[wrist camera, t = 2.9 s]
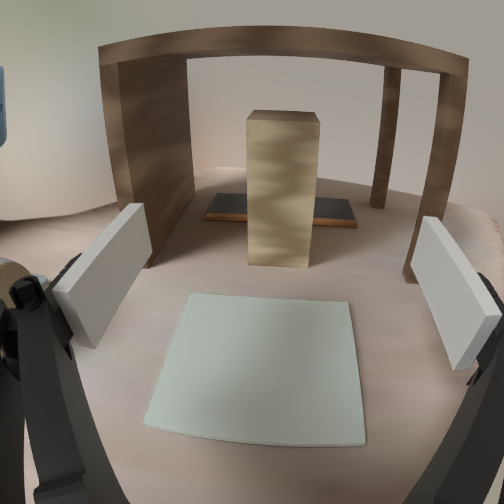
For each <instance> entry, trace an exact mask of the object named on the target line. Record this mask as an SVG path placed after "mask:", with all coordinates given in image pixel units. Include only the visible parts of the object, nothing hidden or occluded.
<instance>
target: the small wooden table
mask: <svg viewBox="0 0 504 504" xmlns="http://www.w3.org/2000/svg"><path fill="white" fill-rule="evenodd" d="M98 52H99V68H100V81H101V91H102V102H103V111H104V118H105V127H106V134H107V142H108V148H109V155H110V161H111V167H112V173H113V179H114V184H115V189H116V195H117V200H118V205H119V209H120V212H121V211H122V210H123V209H124V208H125V207H126V206H127V205H128V204H129V203H143V205H144V210H145V216H146V221H147V227H148V232H149V237H150V242H151V247H152V254H151V255H150V257H149V258H148V260H147V261H146V263H145V265H144V266H143V268H149V266H150V265H151V263H152V261H153V260H154V258H155V256H156V255H157V253H158V251H159V250H160V248H161V246H162V245H163V243H164V242H165V240H166V238H167V237H168V235H169V233H170V232H171V230H172V229H173V227H174V226H175V224H176V222H177V221H178V219H179V218H180V216H181V215H182V213H183V211H184V210H185V208H186V207H187V205H188V204H189V202H190V201H191V199H192V198H193V196H194V195H195V186H194V174H193V163H192V149H191V135H190V119H189V102H188V83H187V59H193V58H205V57H222V56H255V55H256V56H263V55H264V56H297V57H315V58H327V59H337V60H346V61H355V62H361V63H362V62H363V63H369V64H375V65H381V66H385V69H384V86H383V100H382V112H381V122H380V132H379V141H378V149H377V158H376V166H375V172H374V179H373V186H372V192H371V199H370V203H371V205H372V207H376V208H384V205H385V200H386V194H387V189H388V183H389V176H390V170H391V164H392V157H393V149H394V142H395V134H396V126H397V117H398V107H399V95H400V82H401V69H408V70H417V71H424V72H432V73H438V74H440V84H439V85H440V86H439V95H438V105H437V114H436V122H435V129H434V136H433V143H432V149H431V155H430V160H429V166H428V172H427V176H426V181H425V187H424V191H423V196H422V200H421V204H420V209H419V213H418V217H417V221H416V225H415V229H414V233H413V237H412V240H411V244H410V248H409V251H408V255H407V258H406V261H405V265H404V268H403V271H402V273H403V275H404V278H405V280H406V282H407V283H418V281H417V278H416V276H415V274H414V272H413V270H412V267H411V265H410V264H411V261H412V257H413V254H414V250H415V247H416V243H417V239H418V236H419V232H420V228H421V224H422V220H423V216H430V217H437V218H438V219H439V220H440V222H441V223H442V219H443V215H444V212H445V208H446V204H447V199H448V196H449V192H450V188H451V183H452V179H453V174H454V169H455V165H456V160H457V154H458V149H459V143H460V137H461V131H462V123H463V116H464V109H465V101H466V92H467V79H468V65H469V59H468V58H465V57H462V56H459V55H456V54H453V53H450V52H446V51H443V50H440V49H435V48H432V47H429V46H425V45H421V44H417V43H413V42H408V41H403V40H399V39H394V38H389V37H384V36H378V35H372V34H366V33H359V32H352V31H345V30H335V29H326V28H314V27H296V26H234V27H216V28H205V29H194V30H185V31H177V32H170V33H163V34H157V35H151V36H145V37H141V38H135V39H130V40H125V41H121V42H116V43H112V44H108V45H104V46H100V47H98ZM205 220H230V221H248V213H247V194H226V193H217V195H216V197H215V199H214V201H213V203H212V205H211V207H210V209H209V210H208V212H207V213H206V215H205ZM312 225H329V226H345V227H357V222H356V220H355V218H354V215H353V212H352V209H351V207H350V204H349V201H348V200H346V199H332V198H317V197H315V203H314V214H313V224H312Z"/></svg>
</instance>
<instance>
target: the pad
mask: <svg viewBox="0 0 504 504" xmlns="http://www.w3.org/2000/svg"><path fill="white" fill-rule="evenodd" d="M143 425H144V426H145V427H149V428H153V429H158V430H163V431H168V432H173V433H178V434H183V435H189V436H195V437H201V438H208V439H215V440H222V441H230V442H239V443H249V444H261V445H275V446H298V447H342V446H364V445H365V443H366V438H365V426H364V415H363V405H362V396H361V387H360V379H359V371H358V363H357V356H356V349H355V342H354V335H353V329H352V322H351V316H350V310H349V304H348V302H342V301H317V300H297V299H278V298H262V297H246V296H232V295H219V294H206V293H194V292H190V294H189V297H188V300H187V302H186V305H185V307H184V310H183V313H182V315H181V318H180V320H179V323H178V326H177V328H176V331H175V334H174V336H173V339H172V342H171V345H170V347H169V350H168V353H167V355H166V358H165V361H164V364H163V366H162V369H161V372H160V375H159V378H158V380H157V383H156V386H155V389H154V392H153V395H152V398H151V400H150V403H149V406H148V409H147V412H146V415H145V418H144V421H143Z"/></svg>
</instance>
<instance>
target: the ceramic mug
mask: <svg viewBox="0 0 504 504" xmlns="http://www.w3.org/2000/svg"><path fill="white" fill-rule="evenodd" d="M28 275H34V276H36V277H38V280H39V282H40V284H41V286H42V289H43V291H45V290H46V289H47V287H48V286H49V283H48V280H47V278H46V277H45V276H43V275H39V274H31V273H29V271H28V270H27V269H26V268H25V267H23V266H22V265H20V264H18V263H17V262H14V261H12V260H9V259H6V258H2V257H0V299H2V300H4V302H5V304H6V306H7V308H16V306H15V304H14V302H13V301H12V299H11V297H10V295H9V293H8V292H9V289H10V287H11V286H12V284H13V283H14V282H16V281H17V280H18V279H20V278H22V277H24V276H28ZM0 354H1V356H3V352H2V351H1V353H0Z"/></svg>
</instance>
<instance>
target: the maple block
mask: <svg viewBox="0 0 504 504" xmlns="http://www.w3.org/2000/svg"><path fill="white" fill-rule="evenodd" d="M319 134H320V122H319V120H318V118H317V116H316V114H315V113H314V112H300V111H278V110H277V111H276V110H253V112H252V113H251V114H250V116H249V117H248V118H247V120H246V141H247V143H246V145H247V213H248V265H262V266H280V267H298V268H308V263H309V254H310V244H311V235H312V224H313V214H314V203H315V191H316V179H317V165H318V151H319Z"/></svg>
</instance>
